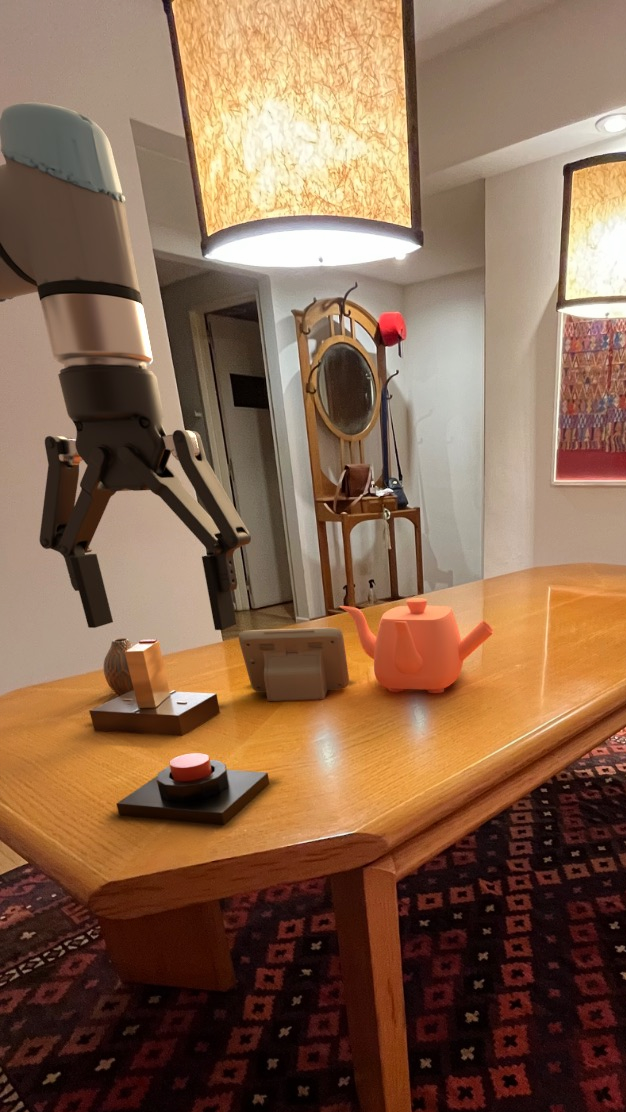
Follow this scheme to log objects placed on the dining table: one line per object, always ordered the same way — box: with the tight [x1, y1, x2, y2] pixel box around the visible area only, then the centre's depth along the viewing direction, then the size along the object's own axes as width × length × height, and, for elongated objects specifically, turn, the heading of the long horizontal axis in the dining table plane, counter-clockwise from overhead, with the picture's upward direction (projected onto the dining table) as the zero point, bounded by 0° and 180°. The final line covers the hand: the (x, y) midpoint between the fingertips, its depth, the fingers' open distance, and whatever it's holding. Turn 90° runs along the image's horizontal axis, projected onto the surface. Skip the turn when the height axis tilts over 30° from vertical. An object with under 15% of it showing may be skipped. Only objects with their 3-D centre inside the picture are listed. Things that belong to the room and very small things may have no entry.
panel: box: [88, 689, 221, 737], centre depth 98 cm, size 14×10×3 cm
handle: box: [125, 638, 170, 708], centre depth 95 cm, size 6×2×8 cm, turn 2°
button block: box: [116, 759, 270, 826], centre depth 72 cm, size 12×10×4 cm
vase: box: [103, 637, 134, 696], centre depth 109 cm, size 7×7×9 cm
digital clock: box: [238, 627, 350, 702], centre depth 106 cm, size 16×9×11 cm, turn 81°
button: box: [169, 752, 212, 781], centre depth 71 cm, size 4×4×2 cm
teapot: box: [339, 597, 495, 694], centre depth 109 cm, size 18×18×14 cm
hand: (162, 626), depth 65 cm, fingers open, 13 cm apart
